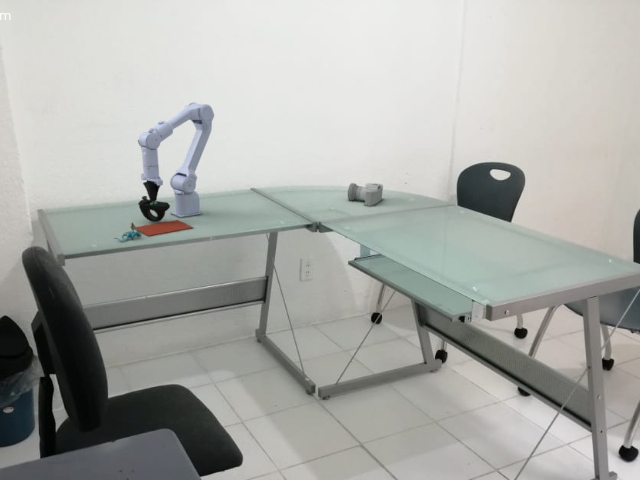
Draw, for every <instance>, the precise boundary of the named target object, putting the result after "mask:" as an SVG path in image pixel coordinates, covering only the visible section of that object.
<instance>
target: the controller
mask: <svg viewBox="0 0 640 480" xmlns="http://www.w3.org/2000/svg"><path fill="white" fill-rule="evenodd" d="M137 204H138V208H139V210H140V212H141V214H142V216H143V217H144V218H145V219H146V220H148V221H149V222H152V223H159V222H160V221H162V220H163V219H164V218H165V215H166V212H167V211H169V209H170V207H171V205H170V204H169V203H168V202H165V201H160V200H159V201H158V200H156V201H153V200H150V199H148V195H143V196H142V197H141V200H139V202H138V203H137ZM151 211H152V212H154V213H156V215H154V214H153V213H152V212H151Z"/></svg>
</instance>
